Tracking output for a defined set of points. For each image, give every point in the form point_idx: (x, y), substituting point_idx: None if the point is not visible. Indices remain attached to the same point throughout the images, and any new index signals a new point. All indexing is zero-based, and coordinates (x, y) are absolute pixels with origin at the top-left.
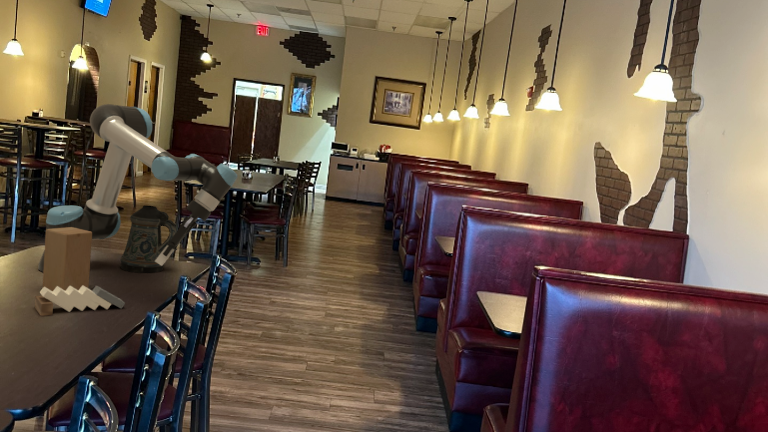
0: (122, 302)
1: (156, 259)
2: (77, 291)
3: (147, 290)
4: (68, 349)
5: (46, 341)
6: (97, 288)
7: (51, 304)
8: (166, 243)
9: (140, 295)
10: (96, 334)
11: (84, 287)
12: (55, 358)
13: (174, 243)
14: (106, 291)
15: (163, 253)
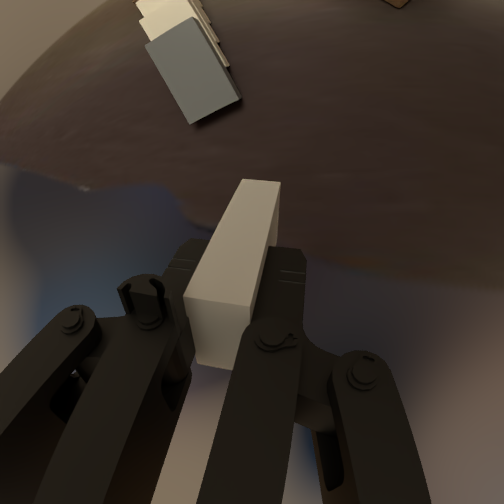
0: (185, 116)
1: (238, 189)
2: (146, 8)
3: (460, 189)
4: (22, 120)
5: (44, 80)
6: (169, 31)
7: (134, 2)
8: (129, 286)
9: (381, 161)
10: (51, 131)
11: (159, 7)
12: (10, 120)
13: (79, 375)
14: (197, 52)
15: (186, 246)
